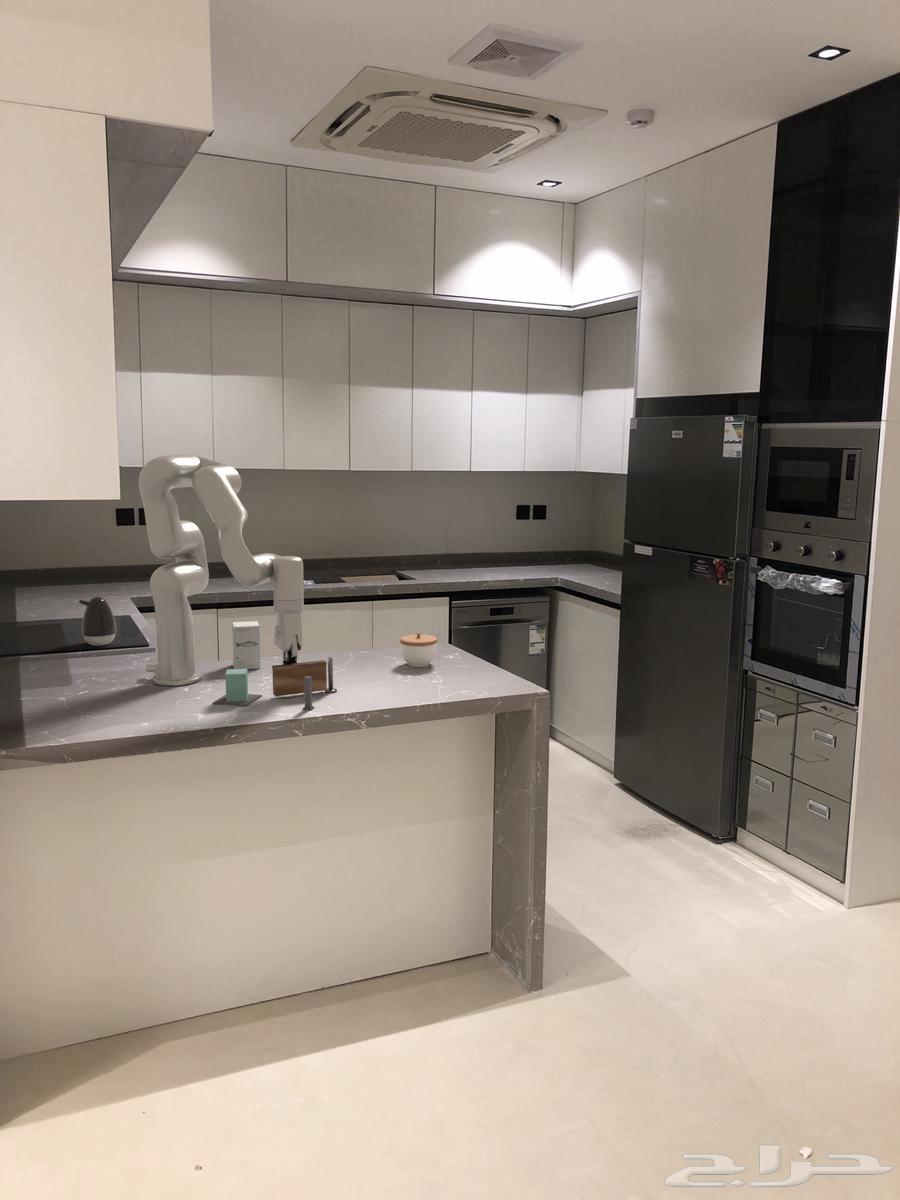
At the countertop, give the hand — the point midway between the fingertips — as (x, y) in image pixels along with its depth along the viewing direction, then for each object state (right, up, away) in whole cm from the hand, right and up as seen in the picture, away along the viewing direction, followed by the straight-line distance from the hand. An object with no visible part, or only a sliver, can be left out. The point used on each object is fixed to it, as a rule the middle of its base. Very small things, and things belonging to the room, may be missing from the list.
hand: (290, 675), depth 245 cm
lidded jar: (+32, 0, +30) cm, 44 cm away
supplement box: (-17, 0, +27) cm, 32 cm away
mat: (-12, -6, -6) cm, 15 cm away
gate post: (+10, -4, +2) cm, 11 cm away
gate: (+3, -4, -2) cm, 5 cm away
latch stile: (+7, -7, -13) cm, 17 cm away
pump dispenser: (-69, +5, +55) cm, 88 cm away
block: (-12, -5, -6) cm, 15 cm away
